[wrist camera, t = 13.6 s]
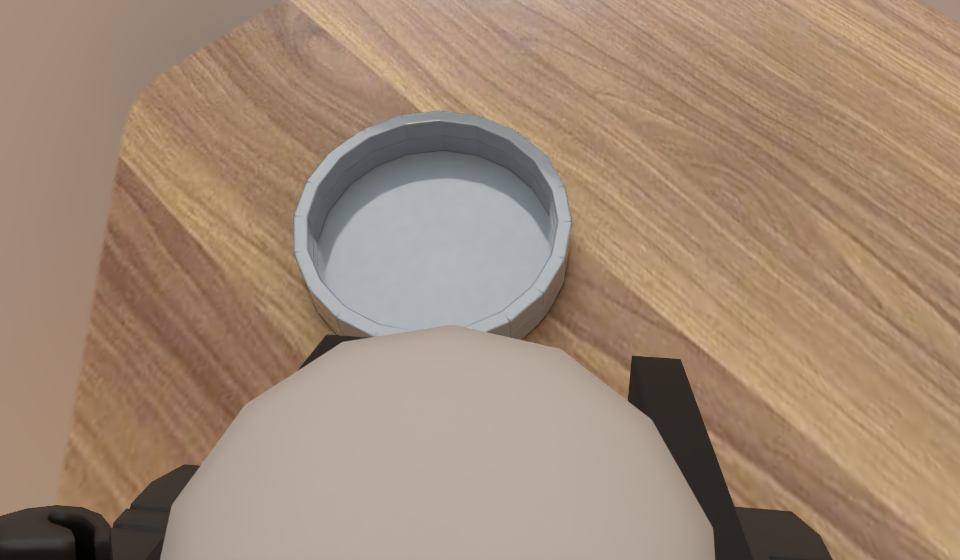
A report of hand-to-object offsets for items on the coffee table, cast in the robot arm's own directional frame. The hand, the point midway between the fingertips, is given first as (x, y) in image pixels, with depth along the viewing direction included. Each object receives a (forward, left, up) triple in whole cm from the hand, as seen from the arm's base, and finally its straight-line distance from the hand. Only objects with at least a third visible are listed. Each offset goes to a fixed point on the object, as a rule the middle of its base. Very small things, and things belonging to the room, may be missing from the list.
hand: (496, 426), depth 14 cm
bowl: (-6, +14, -18) cm, 24 cm away
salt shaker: (0, -4, -6) cm, 7 cm away
